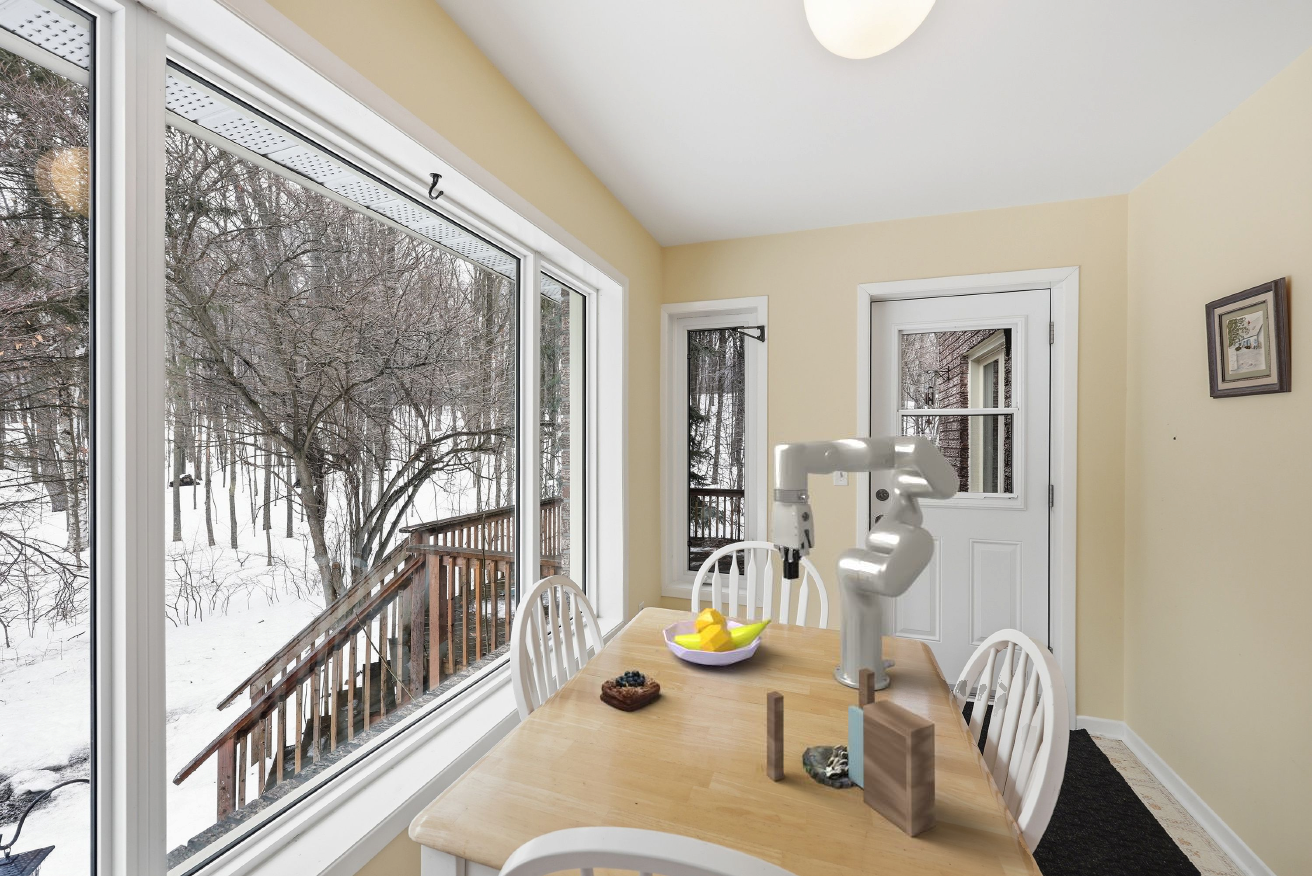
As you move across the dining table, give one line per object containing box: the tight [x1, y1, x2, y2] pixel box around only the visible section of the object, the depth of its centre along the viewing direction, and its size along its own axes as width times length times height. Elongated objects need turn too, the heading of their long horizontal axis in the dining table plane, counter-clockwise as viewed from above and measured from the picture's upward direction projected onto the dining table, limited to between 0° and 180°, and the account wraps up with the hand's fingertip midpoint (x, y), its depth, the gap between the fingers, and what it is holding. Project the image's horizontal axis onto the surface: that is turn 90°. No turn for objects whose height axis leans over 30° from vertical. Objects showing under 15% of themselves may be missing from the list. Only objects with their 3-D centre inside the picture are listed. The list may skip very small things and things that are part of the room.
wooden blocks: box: [766, 668, 936, 838], centre depth 89 cm, size 24×21×15 cm
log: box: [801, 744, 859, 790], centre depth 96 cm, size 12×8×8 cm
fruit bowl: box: [662, 607, 772, 667], centre depth 146 cm, size 28×27×11 cm
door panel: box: [847, 704, 863, 789], centre depth 88 cm, size 1×10×12 cm, turn 27°
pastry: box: [599, 669, 661, 713], centre depth 122 cm, size 11×12×6 cm
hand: (791, 578), depth 122 cm, fingers closed
